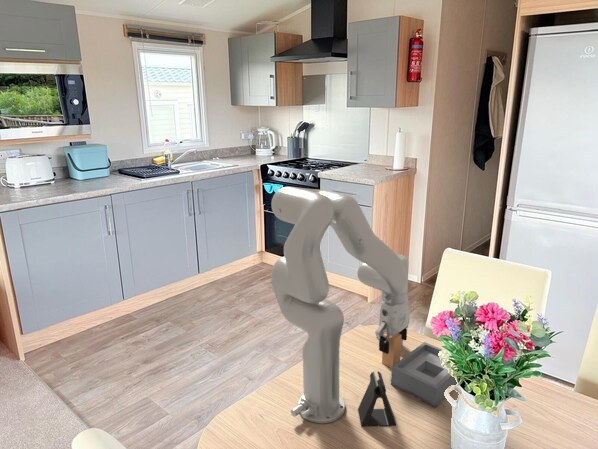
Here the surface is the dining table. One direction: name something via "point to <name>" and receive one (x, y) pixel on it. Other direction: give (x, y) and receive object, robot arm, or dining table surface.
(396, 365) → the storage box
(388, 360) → the peg
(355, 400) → the dining table surface
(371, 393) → the black triangular stand
